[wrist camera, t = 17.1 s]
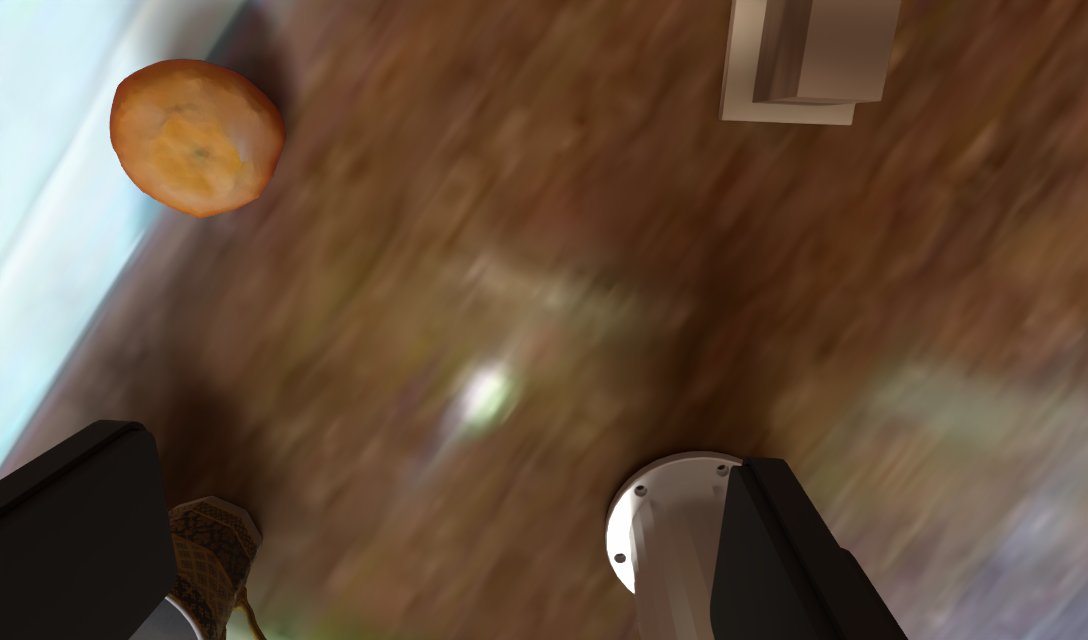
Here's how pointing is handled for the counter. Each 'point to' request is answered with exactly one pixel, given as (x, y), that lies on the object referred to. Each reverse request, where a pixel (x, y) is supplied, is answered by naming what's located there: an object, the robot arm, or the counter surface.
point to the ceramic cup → (206, 573)
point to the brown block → (825, 51)
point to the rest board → (743, 74)
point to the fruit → (196, 135)
